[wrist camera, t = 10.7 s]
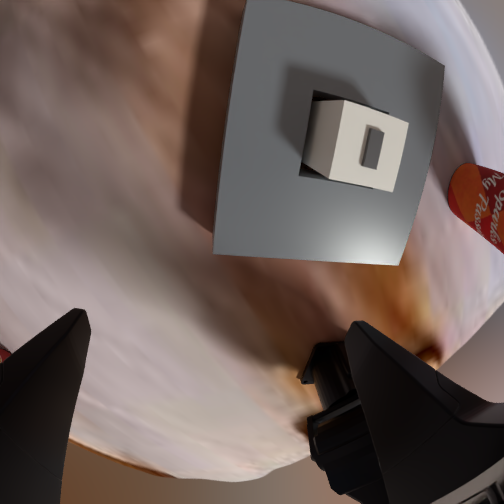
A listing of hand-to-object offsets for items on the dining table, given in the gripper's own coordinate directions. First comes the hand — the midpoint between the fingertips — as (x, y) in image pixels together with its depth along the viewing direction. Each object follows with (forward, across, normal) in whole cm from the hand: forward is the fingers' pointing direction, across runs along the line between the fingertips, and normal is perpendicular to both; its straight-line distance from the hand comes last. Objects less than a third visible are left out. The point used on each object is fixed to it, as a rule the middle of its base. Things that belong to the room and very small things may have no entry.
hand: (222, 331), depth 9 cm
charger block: (+12, -7, -6) cm, 15 cm away
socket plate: (+12, -7, -6) cm, 15 cm away
